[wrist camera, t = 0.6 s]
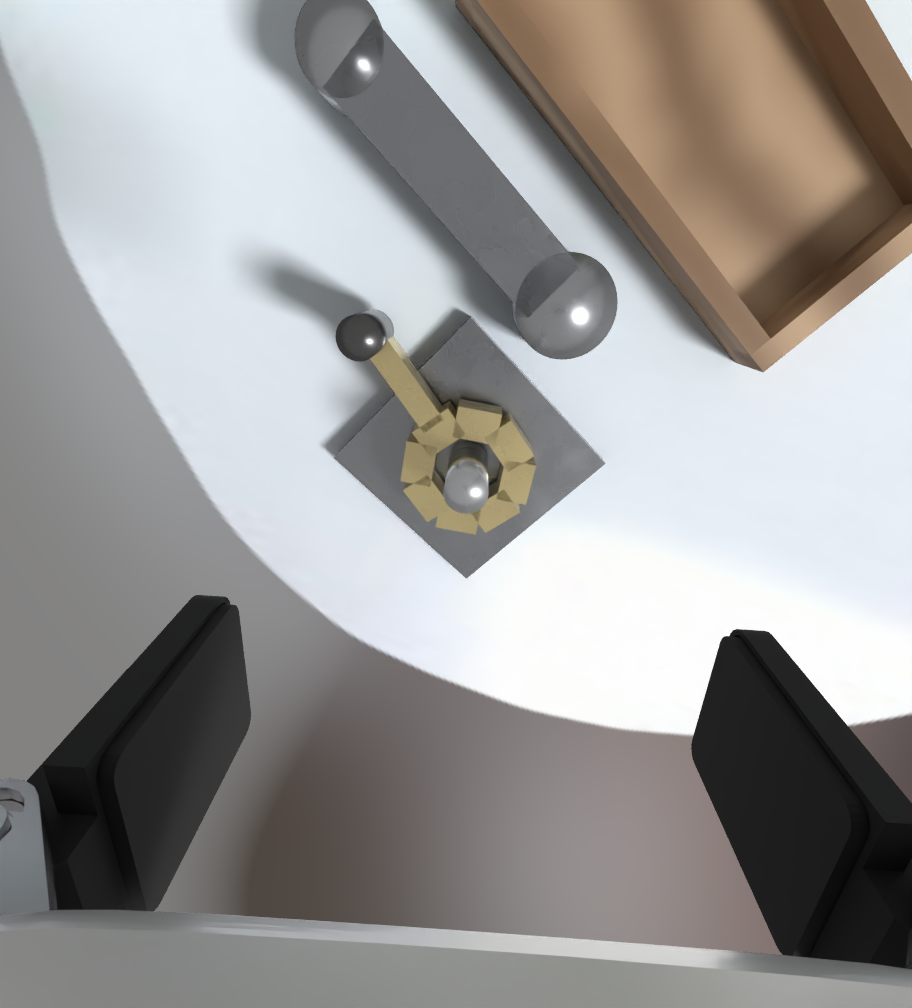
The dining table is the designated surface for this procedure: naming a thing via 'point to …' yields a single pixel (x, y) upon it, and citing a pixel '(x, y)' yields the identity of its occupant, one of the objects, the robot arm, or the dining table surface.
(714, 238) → the tray
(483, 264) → the silver dumbbell
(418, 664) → the dining table surface
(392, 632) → the dining table surface
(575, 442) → the nut base
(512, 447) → the ring nut
